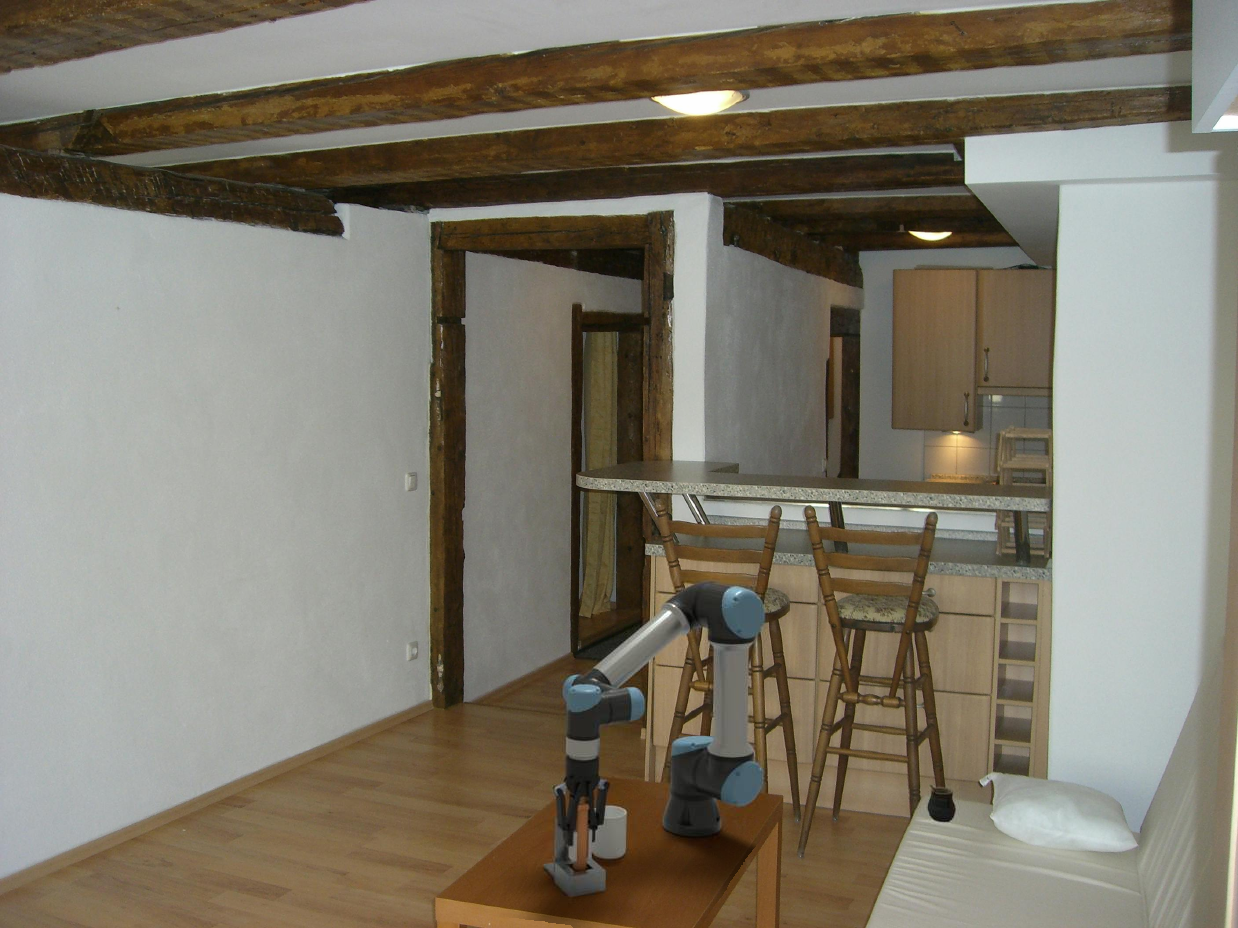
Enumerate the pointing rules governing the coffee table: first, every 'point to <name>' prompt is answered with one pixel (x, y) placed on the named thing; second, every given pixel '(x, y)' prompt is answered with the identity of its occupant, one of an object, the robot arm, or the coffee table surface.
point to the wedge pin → (581, 837)
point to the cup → (611, 834)
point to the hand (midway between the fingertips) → (580, 857)
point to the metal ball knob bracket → (565, 875)
